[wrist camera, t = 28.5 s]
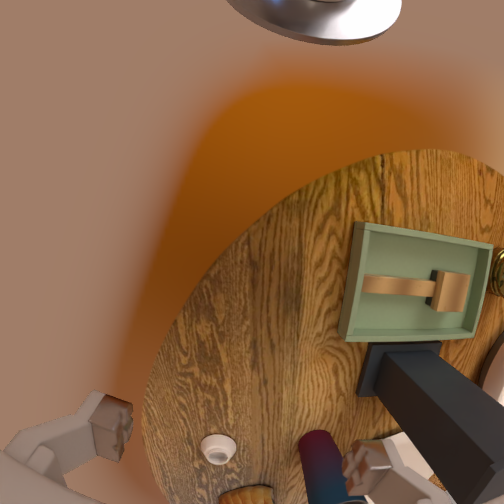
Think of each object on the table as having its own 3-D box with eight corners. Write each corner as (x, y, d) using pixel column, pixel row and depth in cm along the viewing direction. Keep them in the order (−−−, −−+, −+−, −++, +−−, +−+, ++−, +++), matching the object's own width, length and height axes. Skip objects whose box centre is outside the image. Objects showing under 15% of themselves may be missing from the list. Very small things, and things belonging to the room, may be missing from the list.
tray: (354, 221, 35) (365, 222, 32) (480, 242, 36) (493, 244, 33) (336, 332, 37) (345, 342, 34) (462, 331, 38) (473, 337, 35)
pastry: (224, 508, 41) (224, 523, 37) (213, 488, 40) (212, 504, 36) (277, 500, 41) (279, 515, 37) (270, 480, 40) (272, 496, 36)
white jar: (196, 449, 38) (228, 459, 39) (194, 463, 35) (228, 472, 36) (208, 428, 38) (241, 438, 38) (206, 441, 35) (242, 452, 35)
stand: (369, 341, 37) (496, 472, 11) (438, 339, 38) (564, 429, 12) (355, 393, 38) (445, 534, 12) (423, 386, 39) (524, 489, 13)
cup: (290, 458, 39) (308, 533, 24) (294, 427, 38) (316, 506, 24) (333, 453, 40) (361, 523, 25) (340, 422, 39) (375, 494, 24)
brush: (352, 301, 36) (361, 308, 33) (359, 259, 35) (370, 264, 32) (450, 306, 37) (462, 312, 34) (457, 271, 36) (470, 275, 33)
